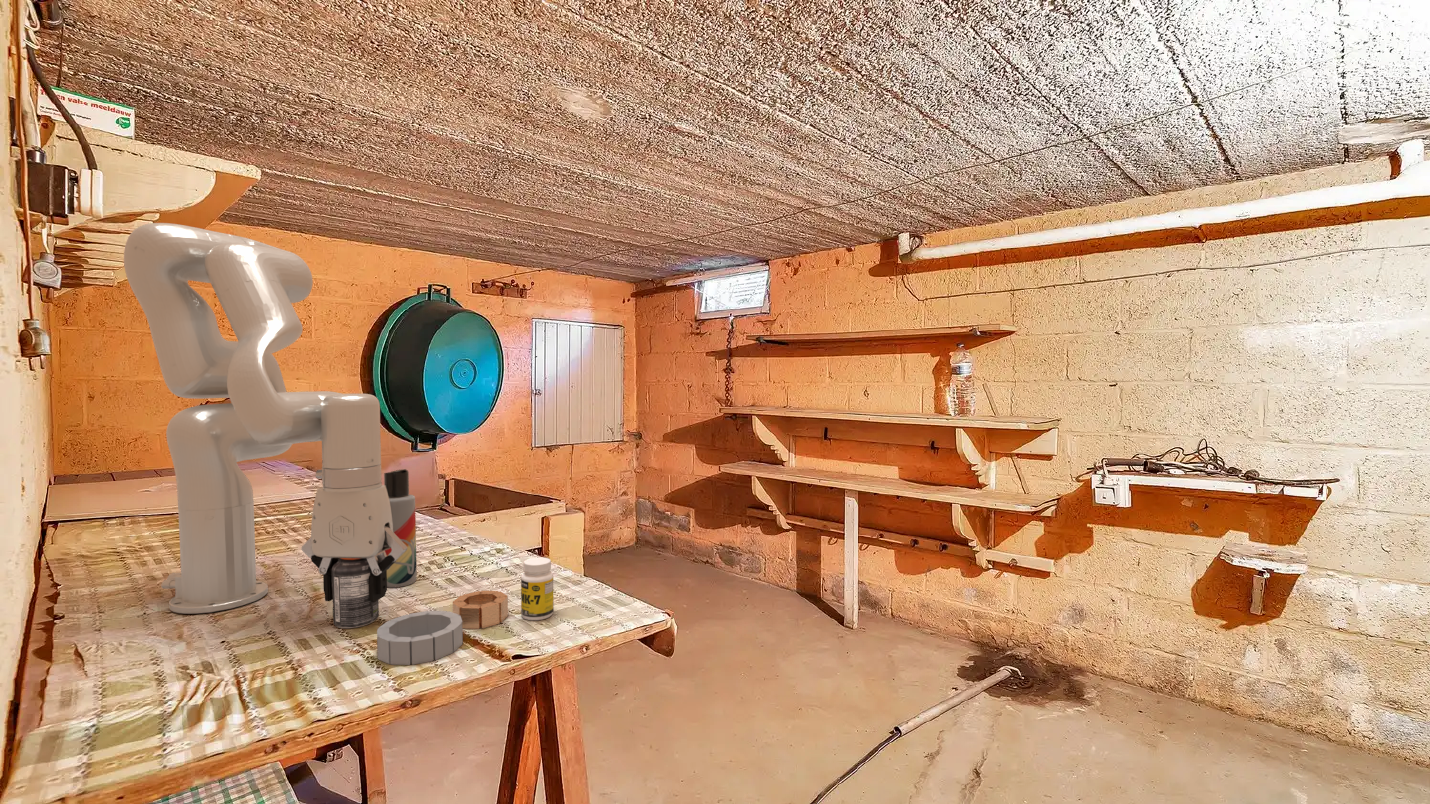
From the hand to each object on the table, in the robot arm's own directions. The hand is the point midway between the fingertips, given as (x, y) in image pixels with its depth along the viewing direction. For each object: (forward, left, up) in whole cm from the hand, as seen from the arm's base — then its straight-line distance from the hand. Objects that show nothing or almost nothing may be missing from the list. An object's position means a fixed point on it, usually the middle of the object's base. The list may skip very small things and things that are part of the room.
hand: (355, 597), depth 95 cm
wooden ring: (+18, +2, -4) cm, 18 cm away
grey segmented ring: (+14, -8, -4) cm, 17 cm away
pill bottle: (0, 0, -4) cm, 4 cm away
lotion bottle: (-3, +17, -4) cm, 18 cm away
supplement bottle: (+26, +4, -4) cm, 27 cm away
